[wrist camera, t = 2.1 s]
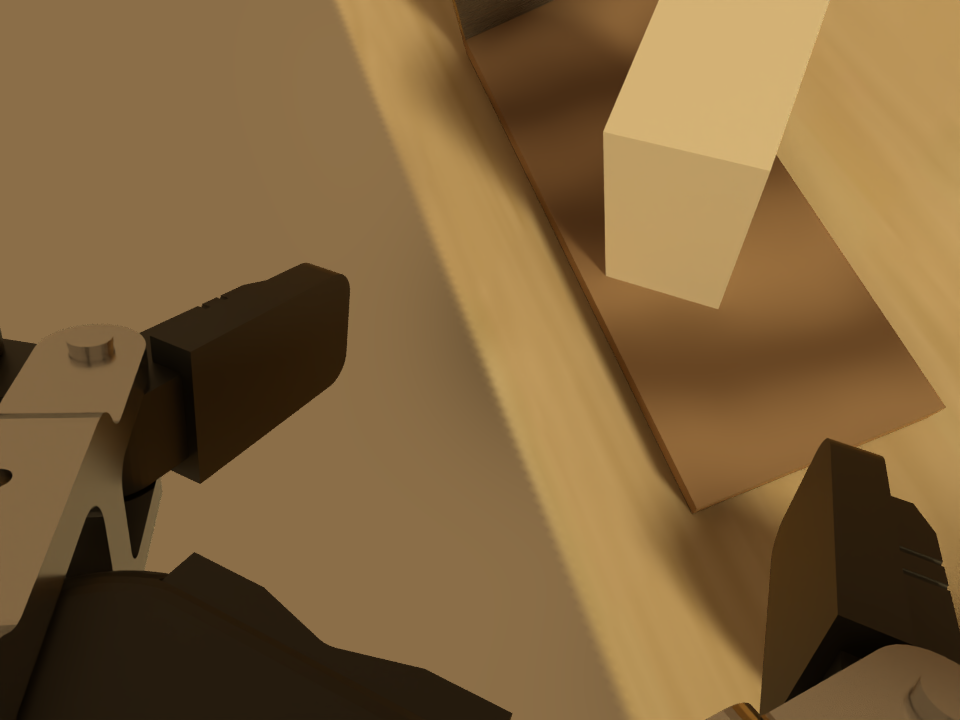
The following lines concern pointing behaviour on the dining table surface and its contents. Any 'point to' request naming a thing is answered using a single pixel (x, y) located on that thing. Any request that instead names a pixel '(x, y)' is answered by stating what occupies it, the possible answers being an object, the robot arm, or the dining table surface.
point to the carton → (700, 138)
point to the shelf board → (685, 324)
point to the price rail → (490, 13)
